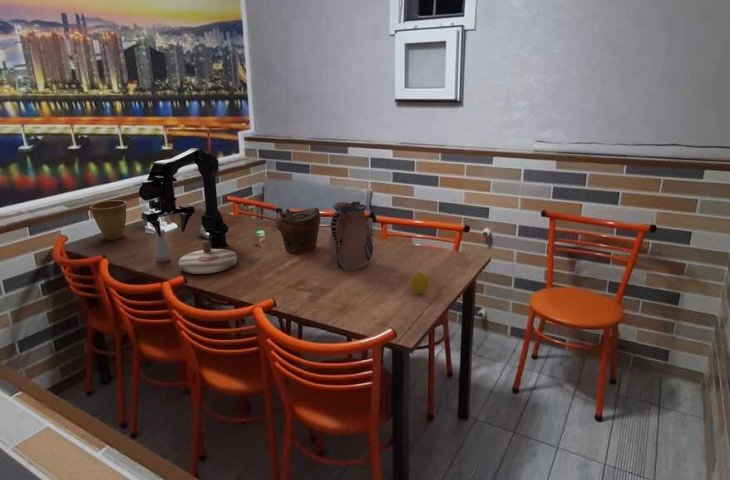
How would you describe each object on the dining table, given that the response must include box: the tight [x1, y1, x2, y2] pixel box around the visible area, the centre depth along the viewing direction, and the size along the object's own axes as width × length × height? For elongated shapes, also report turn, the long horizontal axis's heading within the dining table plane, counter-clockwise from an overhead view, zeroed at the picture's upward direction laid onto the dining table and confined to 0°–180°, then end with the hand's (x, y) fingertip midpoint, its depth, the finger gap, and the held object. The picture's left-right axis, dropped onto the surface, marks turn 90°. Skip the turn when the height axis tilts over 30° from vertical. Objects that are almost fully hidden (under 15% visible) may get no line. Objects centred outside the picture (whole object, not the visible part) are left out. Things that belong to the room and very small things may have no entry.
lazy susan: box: [178, 240, 238, 275], centre depth 197 cm, size 22×22×6 cm
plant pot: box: [89, 199, 127, 241], centre depth 231 cm, size 15×15×16 cm
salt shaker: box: [153, 228, 171, 263], centre depth 202 cm, size 6×6×13 cm
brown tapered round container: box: [275, 207, 322, 255], centre depth 213 cm, size 18×20×18 cm
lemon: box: [411, 272, 429, 295], centre depth 170 cm, size 6×6×8 cm
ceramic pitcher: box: [327, 201, 374, 271], centre depth 191 cm, size 18×21×25 cm
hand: (171, 234), depth 193 cm, fingers open, 9 cm apart
